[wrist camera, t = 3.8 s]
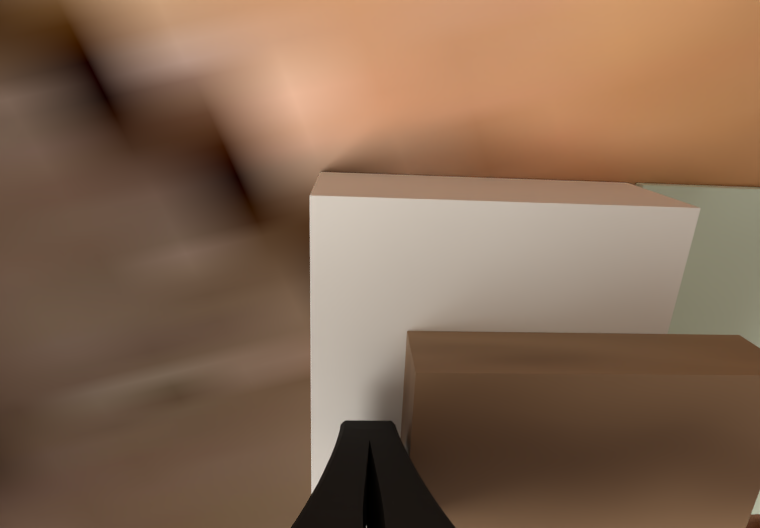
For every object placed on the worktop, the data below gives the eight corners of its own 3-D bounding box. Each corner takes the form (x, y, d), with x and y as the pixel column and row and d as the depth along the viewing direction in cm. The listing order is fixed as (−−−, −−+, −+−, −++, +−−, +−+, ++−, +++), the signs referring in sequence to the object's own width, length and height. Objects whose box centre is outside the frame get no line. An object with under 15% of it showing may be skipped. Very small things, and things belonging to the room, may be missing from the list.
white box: (558, 506, 20) (599, 590, 16) (319, 507, 19) (311, 594, 16) (626, 182, 15) (700, 207, 12) (320, 171, 15) (309, 195, 11)
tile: (684, 507, 15) (731, 566, 13) (395, 509, 15) (401, 571, 13) (739, 334, 13) (802, 375, 11) (407, 330, 13) (415, 372, 11)
